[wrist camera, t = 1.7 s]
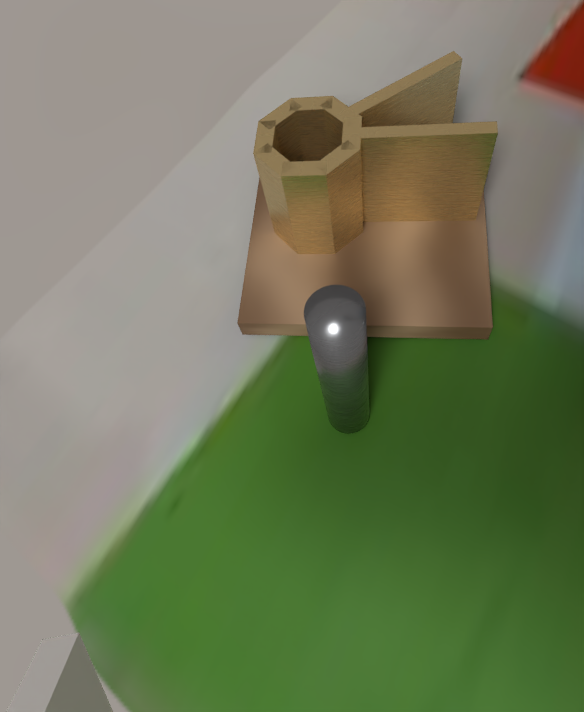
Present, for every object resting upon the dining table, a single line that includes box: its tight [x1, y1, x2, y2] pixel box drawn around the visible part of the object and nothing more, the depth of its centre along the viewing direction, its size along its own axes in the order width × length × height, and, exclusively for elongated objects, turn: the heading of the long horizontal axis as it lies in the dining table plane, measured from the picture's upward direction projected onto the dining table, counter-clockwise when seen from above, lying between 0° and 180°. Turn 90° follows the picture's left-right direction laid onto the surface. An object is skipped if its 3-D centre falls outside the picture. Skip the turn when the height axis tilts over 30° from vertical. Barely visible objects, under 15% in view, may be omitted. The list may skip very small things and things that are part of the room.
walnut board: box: [238, 178, 493, 339], centre depth 36 cm, size 15×16×2 cm
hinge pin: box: [304, 285, 370, 433], centre depth 26 cm, size 2×2×12 cm
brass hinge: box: [253, 51, 498, 254], centre depth 33 cm, size 13×9×7 cm
